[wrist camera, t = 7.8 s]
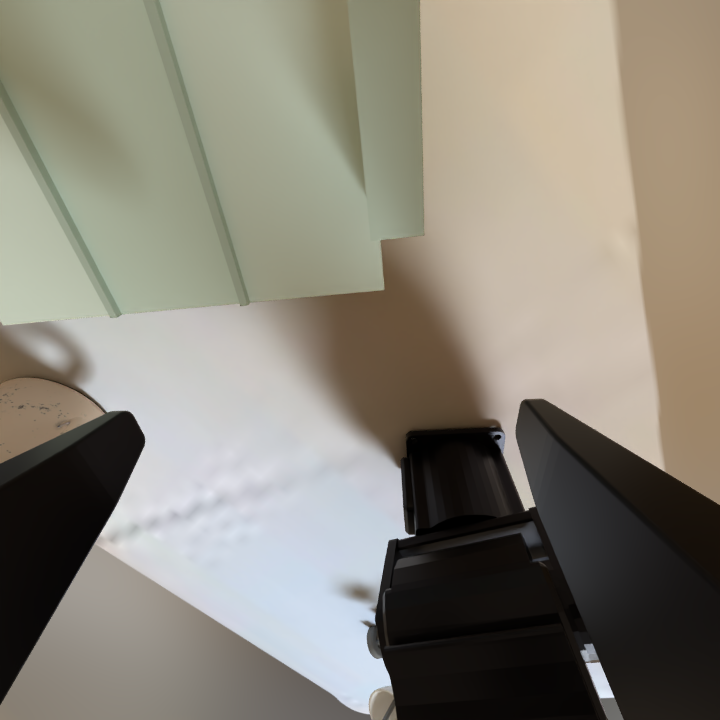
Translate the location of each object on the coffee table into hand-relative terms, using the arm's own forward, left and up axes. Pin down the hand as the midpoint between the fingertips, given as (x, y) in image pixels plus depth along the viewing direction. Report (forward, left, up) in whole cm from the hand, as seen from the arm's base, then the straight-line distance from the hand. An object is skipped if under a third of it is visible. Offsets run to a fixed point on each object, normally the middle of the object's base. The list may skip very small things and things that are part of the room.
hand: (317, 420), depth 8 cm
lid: (+6, -5, -7) cm, 11 cm away
